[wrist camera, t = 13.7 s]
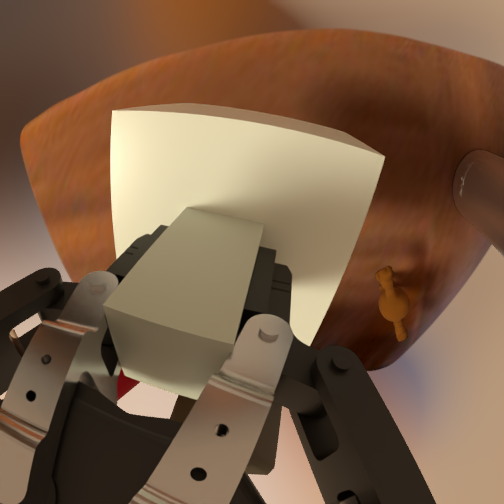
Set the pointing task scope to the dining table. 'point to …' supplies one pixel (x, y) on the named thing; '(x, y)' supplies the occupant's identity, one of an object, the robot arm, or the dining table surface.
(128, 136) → the cover
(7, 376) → the robot arm
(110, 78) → the dining table surface
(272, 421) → the bottle
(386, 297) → the toy figurine
